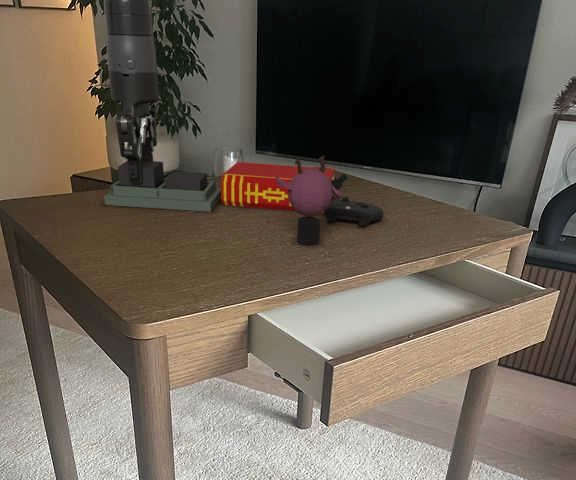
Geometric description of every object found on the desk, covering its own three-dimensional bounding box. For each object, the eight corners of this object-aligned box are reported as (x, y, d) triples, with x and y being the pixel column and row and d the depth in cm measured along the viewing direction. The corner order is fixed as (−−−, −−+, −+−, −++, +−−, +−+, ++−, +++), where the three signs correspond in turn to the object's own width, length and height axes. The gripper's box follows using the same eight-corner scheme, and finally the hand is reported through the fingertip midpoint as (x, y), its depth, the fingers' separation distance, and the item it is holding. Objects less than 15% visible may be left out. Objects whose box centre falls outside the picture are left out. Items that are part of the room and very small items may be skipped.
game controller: (385, 213, 99) (382, 192, 94) (377, 242, 98) (373, 222, 93) (330, 206, 102) (324, 185, 97) (321, 233, 101) (315, 214, 96)
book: (221, 205, 103) (220, 175, 101) (237, 189, 114) (237, 162, 111) (326, 214, 101) (328, 184, 99) (332, 196, 112) (334, 169, 110)
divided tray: (104, 205, 101) (102, 186, 99) (124, 191, 109) (122, 174, 108) (210, 211, 100) (210, 193, 98) (221, 197, 108) (221, 180, 107)
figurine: (343, 239, 89) (350, 154, 83) (323, 254, 83) (330, 164, 77) (294, 231, 92) (298, 148, 86) (271, 244, 86) (273, 156, 80)
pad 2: (165, 196, 101) (164, 178, 100) (174, 188, 106) (173, 171, 105) (200, 199, 101) (199, 180, 99) (207, 190, 106) (207, 173, 104)
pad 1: (119, 185, 101) (117, 166, 99) (130, 177, 106) (129, 159, 104) (154, 187, 100) (153, 168, 99) (164, 179, 106) (163, 161, 104)
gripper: (124, 65, 101) (133, 169, 109) (92, 69, 88) (106, 186, 97) (168, 67, 100) (174, 171, 109) (142, 72, 88) (151, 189, 97)
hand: (142, 178), depth 103 cm, fingers closed on pad 1, 6 cm apart
